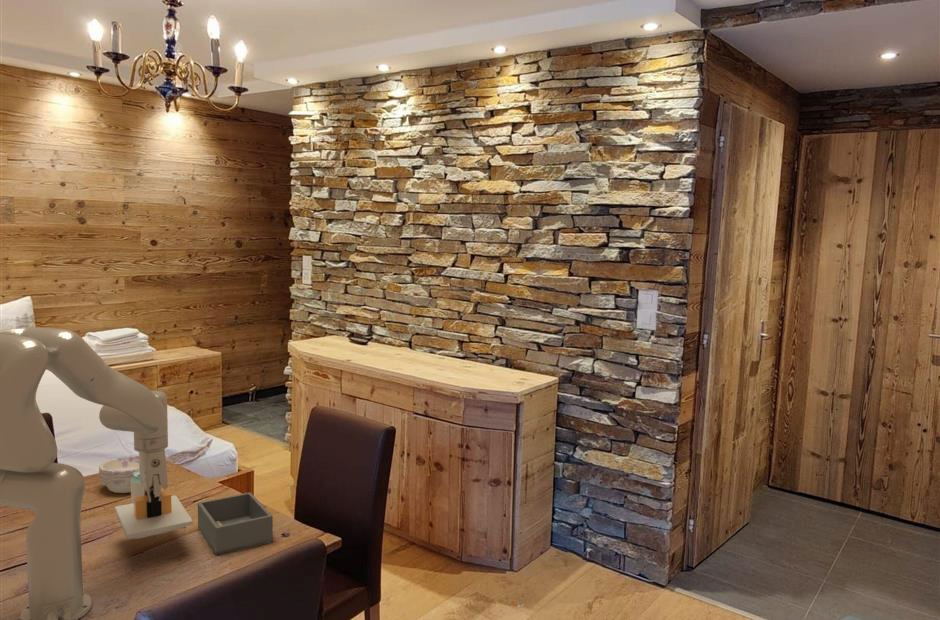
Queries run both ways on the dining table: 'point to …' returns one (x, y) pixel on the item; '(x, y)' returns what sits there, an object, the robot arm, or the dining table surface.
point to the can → (136, 486)
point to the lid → (142, 526)
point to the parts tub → (234, 523)
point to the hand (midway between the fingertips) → (152, 512)
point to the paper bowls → (118, 473)
